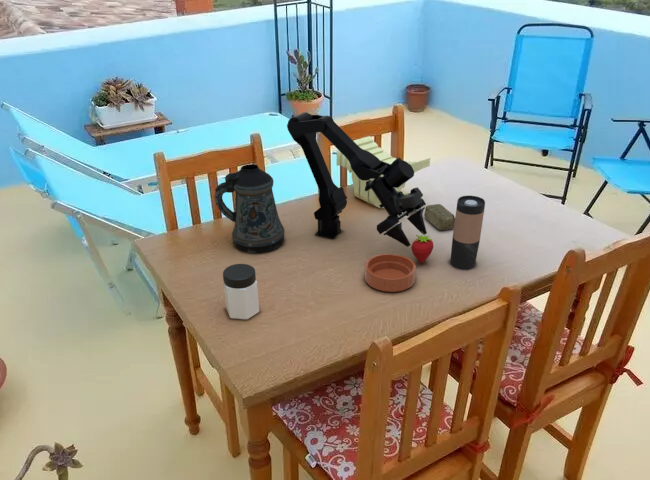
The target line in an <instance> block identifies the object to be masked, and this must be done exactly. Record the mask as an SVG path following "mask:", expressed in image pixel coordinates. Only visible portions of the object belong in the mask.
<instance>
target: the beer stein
mask: <svg viewBox="0 0 650 480" xmlns="http://www.w3.org/2000/svg"><path fill="white" fill-rule="evenodd" d="M273 187H274V178H273V177H272V175H270V173H268V172H266V171H265V170H262V169H261V168H260V167H259V166H258V165H257V164H253V163H252V164H251V163H249V164H244V165H242V166H241V167H240V169H239V170H237V171H236V172H232V173H231V172H230V173H227V174H226V175H225V177H224V182H221V183H219V184H218V185H217V186H216V188H215V190H214V191H215V193H214V202H215V205H216V207H217V208H218V210H219V211H220V213H221V214H222V215H223V216H224V217H225V218H227V219H228V220H230V221H231V222H233V223H234V226H233V229H232V231H231V237H232V238H231V239H232V241H233V242H234V246H235V248H236V249H238V250H239V251H240V252H243V253H246V254H264V253H269V252H273V251H275V250H277V249H279V248H280V247H281V246H282V245H283V242H284V239H285V238H284V237H285V233H286V232H285V228H284V226H283V224H282V222H281V219H280V216H279V213H278V209H277V205H276V199H275V196H274V191H273ZM234 192H235V211H232V210H231V209H230V208H229V207H228V206H227V205H226V203H225V202H224V199H223V195H225V194H226V193H231V194H232V193H234Z"/></svg>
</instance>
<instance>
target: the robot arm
mask: <svg viewBox="0 0 650 480" xmlns="http://www.w3.org/2000/svg"><path fill="white" fill-rule="evenodd" d="M286 128H287V131H288V133H289V135H290V136H291V138H292V140H293V141H294V142H295V143H296V144H298V145H299V146H300V147H301V149H302V152H303V154H304V157H305V159H306V161H307V164H308V166H309V169H310V171H311V173H312V176H313V179H314V181H315V184H316V185H317V188H318V203H319V208H318V209H317V210H315V211H314V212H313V217H314V219H315V220H317V231H316V232H315V236H318V237H322V238H328V239H333V240H334V239H335V238H336V237H337V236H338V235H339V234H340V233H341V232H342V227H341V226H342V225H341V220H340V214H342V212H343V210H345V208H346V206H347V205H348V200H347V199H348V196H347V195H346V193H345V189H344V187H343V186H340V187H339V186H337V185H336V184H335V182H334V181H333V179H332V176H331V174H330V173H331V172H330V170H329V169H328V166H327V163H326V161H325V158H324V156H323V153H322V151H321V149H320V146H319V143H318V141H317V133H321V134H322V135H323V136H324V137H325V138H326V139H327V140H328V142H330V143H331V144H332V146H334V148H336V149H337V151H338V150H339V151H340V152H341V153H342V154H343V155H344V156H345V157H346V158H347V159H348V161H349V162H350V165H351V168H352V170H353V171H354V173H355V174H356V175H357V177H358V178H359V179H360V180H362V181H363V180H365V181H367V180H369V181H367V182H366V187H365V191H368V190H370V189H372V190H373V192H374V193H375V195H376V196H377V198H378V199H379V201H380V202H381V204H380V205H379V206H380V208H379V209H384V210H385V212H386V213H387V214H388V216H387V217H386V218H385V219H383V220H382V221H381V222H379V223H378V224H376V231H377V232H378V234H379V235H382V234H383V236H387V237H389V238H391V239H393V240H395V241H397V242H399V243H400V244H401V245H403V246H405V247H407V248H409V247H410V246H411V243H410V241H409V239H408V236H407V235H406V234H405V232H404V231H403V229H402V228H403V224H402V223H403V222H402V221H401V222H400V220H401V219H403V218H405V217H407V218H406V219H407V220H408V221H409V222H410V224H411V225H412V226H414V227H415V228H416V229H417V230H418V232H420V233H421V235H422V236H423V235H424V234H425V235H427V233H428V232H427V228H426V224H425V221H424V211H425V208H426V206H427V205H426V204H427V202H425V200H424V199H423V197H424V193H423V192H422V191H421V190H420V188H419V187H414V188H412V189H410V191H409V193H407V195H404V194H403V192H404V191H403V192H401V191H402V190H400V191H399V192H397V190H396V189H395V188H398V187H400V186H401V185H403V184H404V183H405V182H406V183H407V182H408V181H410V180H411V179H412V178H413V177H414V176H415V173H414V170H413V168H412V166H411V165H410V164H408V163H407V162H406V160H403V159H402V158H401V157H400V156H399V157H397V158H396V160H394V161H393V163H392V164H388V163H386V162H383V161H380V160H379V159H378V158H377V157H376V156H374V155H373V154H372V153H370V152H368V151H366V150H363V149H361V148H360V147H359V146H358V145H357V144H356V143H355V142H354V140H353V139H352V138H351V137H350V136H349V135H348V134H347V133H346V132H345V131H344V130H343V129H342V127H340V126H339V125H338V124H337V123H336V122H335V121H334V118H333V117H332V116H330V115H320V114H311V113H309V112H306V111H305V112H301V113H299V114H296V115H294V116H292V117H291V118H289V119H288V121H287V124H286ZM382 174H383V177H381V176H380V175H382ZM370 179H374V180H372V181H371V180H370ZM406 183H405V184H406ZM382 207H384V208H382ZM423 233H424V234H423ZM425 235H424V236H425Z"/></svg>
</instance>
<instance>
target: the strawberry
mask: <svg viewBox="0 0 650 480" xmlns="http://www.w3.org/2000/svg"><path fill="white" fill-rule="evenodd" d="M423 234H424V233H423ZM423 234H421V235H418V234H415V236H416V237H417V238H416V239H414V241H413V242H412V244H411V252H412V255H413V256H414V257H415V259H416V260H417V261H418V262H419V263H420V264H423V263H424V262H425V261H426V260H427V259H429V257H430V256H431V254H432V253H433V250H434V241H433V239H432V238H429V237H430V235H426V234H424V236H423Z"/></svg>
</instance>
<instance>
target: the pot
mask: <svg viewBox="0 0 650 480" xmlns="http://www.w3.org/2000/svg"><path fill="white" fill-rule="evenodd" d="M416 272H417V265H416V263H415V261H413V260H412V259H410V258H409V257H407V256H405V255H403V254H398V253H390V252H389V253H379V254H376V255H373V256H371V257H369V258H367V260H366V261H365V264H364V281H365V283H366V284H367V285H368V286H370V287H371V288H373V289H375V290H378V291H382V292H390V293H394V292H401V291H402V292H403V291H404V290H408V289H409V288H411V287H412V286H413V285H414V284H415V282H416Z"/></svg>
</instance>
